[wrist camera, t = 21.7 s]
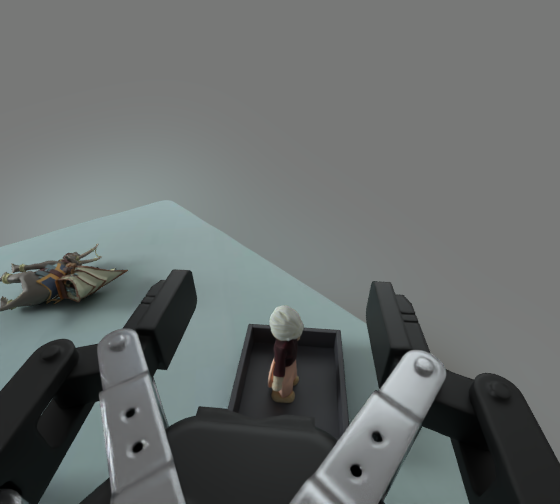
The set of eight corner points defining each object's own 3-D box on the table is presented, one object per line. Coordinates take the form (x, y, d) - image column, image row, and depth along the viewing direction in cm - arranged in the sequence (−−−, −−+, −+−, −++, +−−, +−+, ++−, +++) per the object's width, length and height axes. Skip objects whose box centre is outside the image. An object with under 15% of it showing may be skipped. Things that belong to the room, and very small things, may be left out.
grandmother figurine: (272, 361, 40) (269, 284, 33) (302, 364, 39) (305, 287, 32) (262, 420, 33) (257, 341, 26) (298, 424, 33) (302, 345, 26)
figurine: (47, 235, 58) (137, 234, 58) (58, 262, 61) (144, 262, 61) (-50, 302, 40) (80, 301, 41) (-28, 336, 43) (93, 334, 44)
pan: (225, 450, 31) (221, 433, 29) (250, 340, 43) (248, 323, 41) (347, 463, 30) (351, 446, 28) (338, 347, 42) (340, 329, 40)
